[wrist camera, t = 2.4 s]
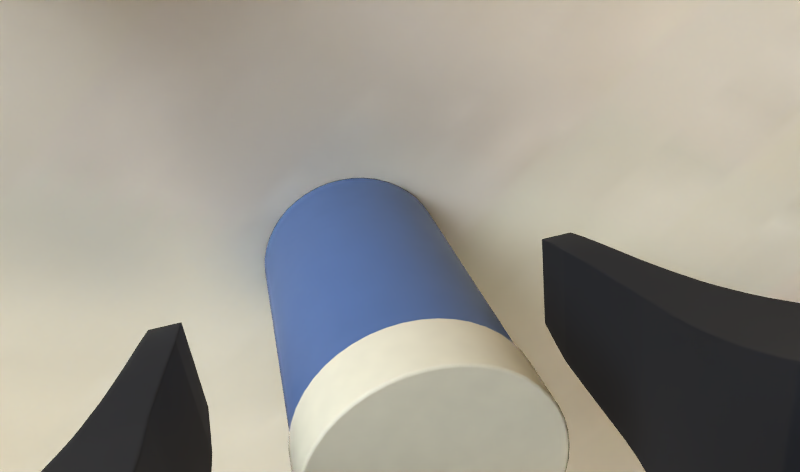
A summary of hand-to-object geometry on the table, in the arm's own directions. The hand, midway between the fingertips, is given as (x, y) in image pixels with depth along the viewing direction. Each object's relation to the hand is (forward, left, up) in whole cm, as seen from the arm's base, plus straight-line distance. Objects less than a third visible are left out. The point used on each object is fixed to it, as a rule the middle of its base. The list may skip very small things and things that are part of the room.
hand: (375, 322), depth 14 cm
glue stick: (0, 0, -3) cm, 3 cm away
